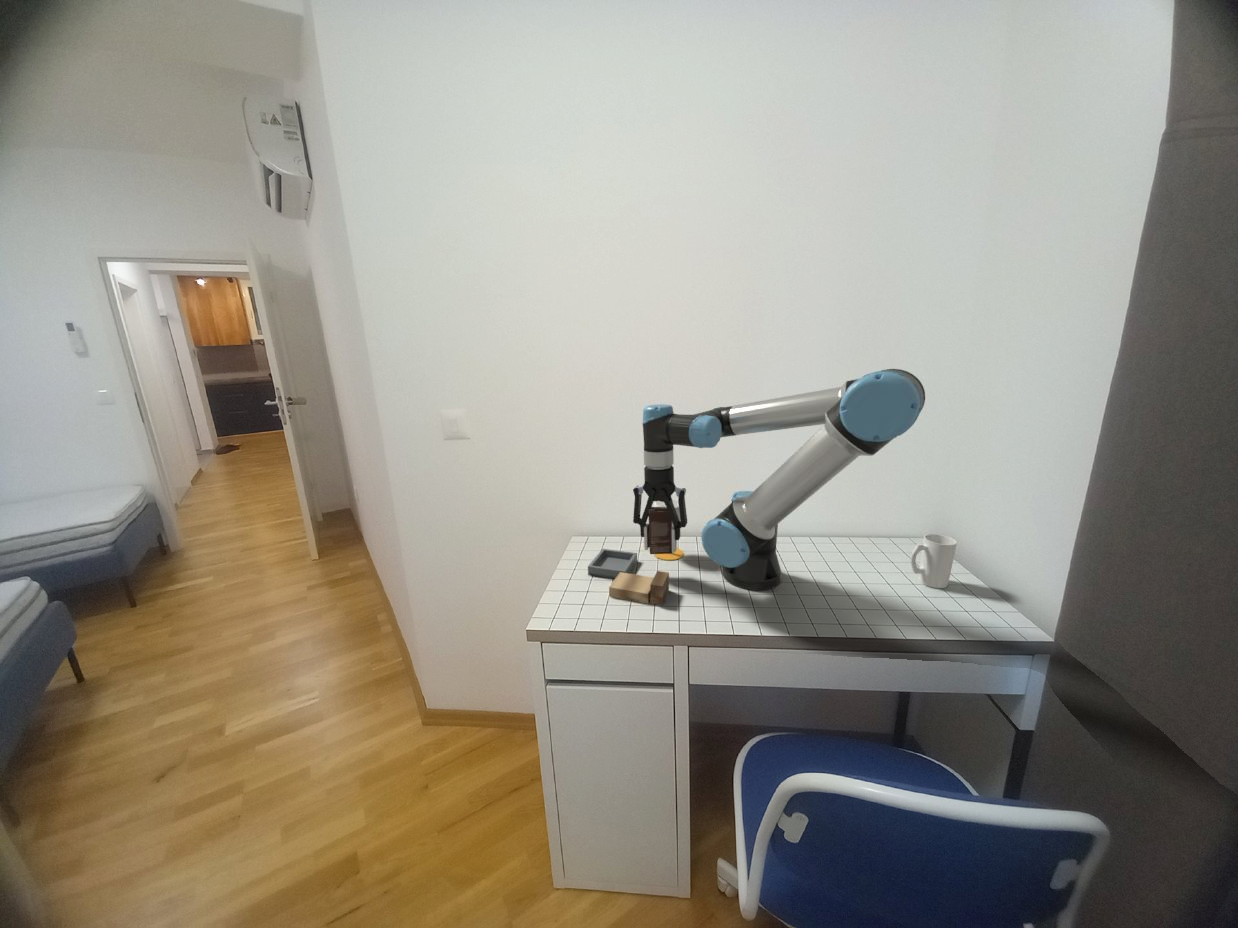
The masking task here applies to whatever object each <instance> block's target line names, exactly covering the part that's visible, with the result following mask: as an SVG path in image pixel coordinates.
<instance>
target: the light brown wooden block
mask: <svg viewBox="0 0 1238 928" xmlns="http://www.w3.org/2000/svg"><path fill="white" fill-rule="evenodd" d="M653 578H654V576H647V575H642V574H641V575H640V574H636V573H635V574H634V573H622V572H620V573H619V574H618V576H617V577H616V578H615V579H614V580H613V581H612V583H611V584H610V585H609V586H608V592H609V593H608V595H609V597H610V598H614V599H621V600H627V601H634V602H636V603H637V602H639V603H644V604H649V601H650V584H651V582H652V580H653Z"/></svg>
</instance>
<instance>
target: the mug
mask: <svg viewBox="0 0 1238 928" xmlns="http://www.w3.org/2000/svg"><path fill="white" fill-rule="evenodd" d="M957 543H958V541H957V539H956V540H955V539H954V538H953V537H950V536H947V535H943V534H937V533H929V534H928V533H927V534H924V535H923V541H922V543H916V546H915V547H914V549H913V550H912V552H911V555H910V565H911V571H912V572H913V573H914V574H916V575H918V577H917V579H918V581H919V582H920V584H923V585H924V586H926V587H929V588H934V589H946V588H947V587H948V586H949V581H950V577H951V574H952V573H951V572H952V569H953V568H952V567H953V563H954V558H955V554H956V548H957ZM920 552H921V555H920V556H921V557H920V563H919V567H918V566H917V560H916V558H917V556H918V554H919V553H920Z"/></svg>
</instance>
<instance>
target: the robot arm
mask: <svg viewBox="0 0 1238 928" xmlns="http://www.w3.org/2000/svg"><path fill="white" fill-rule="evenodd" d="M925 402H926V391H925V387H924V386H923V384H922V382H921V381H920V379H919V378H918V377H917V376H916V375H915V374H913V373H911V372H910V371H907V370H903V369H900V368H887V369H882V370H879V371H878V370H877V371H874V372H870V373H867V374H865V375H863V376H861V377H860V378H856V379H852V380H847V381H845V382H844V383H843V384H842V386H839V387H833V388H827V389H821V390H816V391H815V390H814V391H811V392H805V393H804V392H803V393H798V394H792V395H786V396H781V397H780V396H779V397H775V398H769V399H764V400H763V399H762V400H759V401H754V402H747V403H741V404H736V405H735V404H734V405H731V406H719V407H716V408H713V409H710V410H707V411H706V410H705V411H702V412H698V413H694V414H681V413H680V414H679V413H678V414H677V413H675V412H674V407H673V406H672V405H671V404H661V403H659V404H649V405H646V406H645V407H644V408H643V410H642V423H641V424H642V433H643V465H644V466H645V467H643V471H644V483H643V485H640V486H639V485H636V486H635V487H634V488H633V489H632V491H633V492H632V493H633V494H634V495H633V496H634V504H633V506H634V507H633V516H632V518H633V520H632V522H633V524H635V525H636V524H637V525H639V527H640V529H639V530H640V537H641V538H644V539H643V541H644V542H643V543H644V544H643V545H644V551H648V550H649V522H648V520H649V516H648V515H649V510H650V508H651V507H653V505H654V503H655V502H656V501H661V502H664V503H665V505H666V507H667V509H668V512H669V515H670V517H671V520H672V523H673V525H674V526H673V528H672V553H675V551H676V549H677V548H678V546H677V545H678V543H677V541H679V540H680V538H681V528H685V527H686V526H687V524H688V516H687V515H688V514H687V507H686V499H685V498H686V497H685V496H686V493H687V489H686V488H685V487H683V488H680V487H678V486H677V487H676V484H675V476H674V474H675V472H674V471H675V470H674V466H673V465H674V464H675V463H674V446H682V447H683V446H684V447H691V448H692V447H694V448H699V449H705V448H706V449H708V448H709V449H711V448H714V447H716V446H717V445H718V443H719V442H720V441H721V439H722V438H726V437H734V436H740V435H747V434H755V433H764V432H772V431H779V430H781V431H782V430H788V429H789V430H790V429H794V428H795V429H797V428H803V427H804V428H805V427H812V426H819V425H820V426H821V425H823V426H822V427H821V428H820V429H819V430H817V432H815V433H814V434H813V435H812V436H811V437H810V438H809V439H808V440H807V441H806V442H805V443H804V444H803V445H802V446H800V447H799V448H798V449H797V450H795V452H794V453H793V454H791V456H790V457H788V459H787V460H785V462H783V463H782V464H781V465H780V466H778V468H777V469H776V470H775V471H773V472H772V473H771V474H770V475H769V476H768V477H767V479H765V480H764V481H763V482H761V484H760V485H759V486H758V487H757V488H755V490H754V491H752V490H750V491H749V490H742V491H736V492H734V493H733V494H732V496H731V502H730V504H729V505H728V506H726V507H725V508H724V509H723V510H722V511H721V512H720V513H719V514H718V515H717V516H715V517H714V518H713V519H710V520H708V522H707V523H706V525H705V526H704V527H703V528H702V531H701V536H700V537H701V538H700V539H701V541H702V542H701V544H702V547H703V550H704V551H705V553H706V555H707V556H708V557H709V558H710V559H711V560H712V561H713V562H714V563H716V564H717V565H719V566H722V567H721V568H722V569H721V570H722V571H721V575H722V577H723V578H724V580H725V581H727V582H728V583H729V584H731V585H733V586H736V587H739V588H741V589H746V590H753V591H764V590H770V589H773V588H775V587H777V586H778V585H780V583H781V581H782V569H781V566H780V562H779V558H778V555H777V542H778V541H777V539H778V527H779V525H778V524H780V523H781V522H782V521H783V520H784V519H786V518H787V517H789V515H790V514H792V513H793V512H794V511H795V510H796V509H798V508H799V507H800V506H801V505H802V504H803V503H805V502H806V501H807V500H808V499H809V498H811V497H812V496H813V495H814V494H815V493H817V492H818V491H819V490H820V489H821V488H823V487H824V486H825V485H826V484H827V483H828V482H830V481H831V480H832V479H833V478H834V477H836V476H837V475H838V474H840V472H841V471H844V470H845V468H847V467H848V466H849V465H851V463H852V462H854V461H855V460H856V459H858V457H861V456H862V457H863V456H864V457H865V456H866V457H872V456H874V455H875V454H876V453H878V452H879V451H880V450H882V449H883V448H884V447H885V446H887V445H888V444H889V443H890V442H892V440H894V439H896V438H897V437H899V436H902V435H903V434H905V433H906V432H907V431H908V430H910V429H911V428H912V426H914V424H915V423H916V421H917V420H918V418H919V416H920V414H921V412H922V410H923V408H924V405H925ZM644 492H645V494H646V495H647V496H648V498H647V501H646V504H645V508H644V510H643V512H642V513H643V514H642V516H641V510H642V496H643V494H644ZM674 493H676V497H678V498H677V500H678V503H679V511H680V520H681V521H679V518H678V515H677V513H676V510H675V507H674V505H673V502H672V499H673V498H672V496H673V494H674ZM647 522H648V523H647Z"/></svg>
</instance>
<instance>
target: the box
mask: <svg viewBox="0 0 1238 928" xmlns="http://www.w3.org/2000/svg"><path fill="white" fill-rule="evenodd" d="M648 524H649V548H648V550H649V554H650V555H654V554H672V520H671V517H670V515H669V512H668V509H667V507H654V506H652V507H651V508H650V510H649V515H648Z"/></svg>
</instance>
